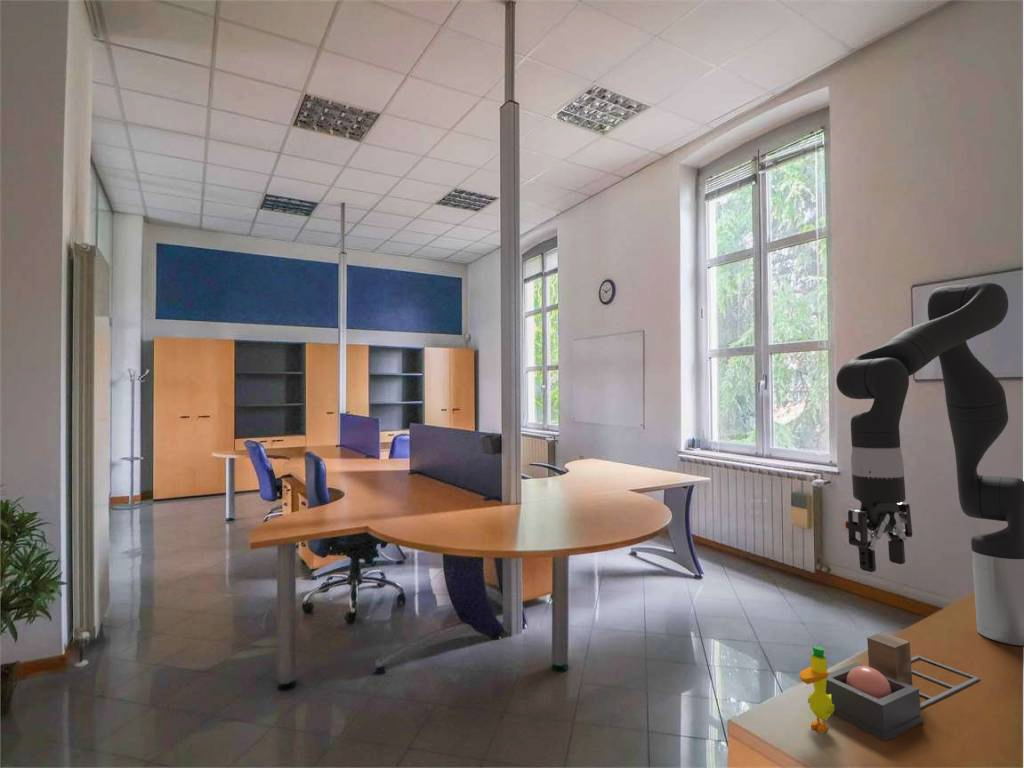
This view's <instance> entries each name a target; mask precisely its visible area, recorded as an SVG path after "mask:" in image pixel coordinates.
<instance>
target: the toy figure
mask: <svg viewBox="0 0 1024 768" xmlns="http://www.w3.org/2000/svg"><path fill="white" fill-rule="evenodd" d="M812 650H813V651H811V652H810V666H809V667H807V668H804V669H803V670H801V671H800V672H799V676H798V677H799V679H800V680H801V681H802V683H804V684H806V685H810V684H813V688H814V689H813V690H814V691H812V692H811V693H810V694H809V695H808V696H809V697H808V700H807V704H809V709H810V710H811V712H812V714H813V715H814V716H815V717H816V720H812V722H811V725H810V727H811V729H813V730H817V732H818V733H819V734H820V733H821V734H823V733H826V732H827V731H828V730H829V727H828V726H827V722H826V720H828V719H829V718H830V716H831V715H833V714H832V713H833V712H834V705H833V704H832V700H831V694H829V695H827V694H826V683H827V676H828V674H829V673H830V671H828V667H827V666H828V665H827V663H828V662H827V655H826V654H825V648H823V647H821V646H818V645H817V646H813V647H812ZM820 720H821V721H822V722H821V721H820Z"/></svg>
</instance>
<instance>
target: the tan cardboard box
mask: <svg viewBox="0 0 1024 768" xmlns="http://www.w3.org/2000/svg"><path fill="white" fill-rule="evenodd" d="M866 640H867V656H868V667H871V668H874V669H876V670H877V671H879V672H880V673H882V674H885V675H887V676H890V677H892V678H894V679H897V680H899V681H902V682H904V683H906V684H909V685H911V686H913V673H912V670H913V669H912V662H911V658H912V655H911V642H910V641H909V640H905V639H903V638H900V637H897V636H894V635H892V634H888V633H885V632H883V631H882V632H879V633H875V634H873V635H871V636H868V637H867V639H866Z"/></svg>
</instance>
